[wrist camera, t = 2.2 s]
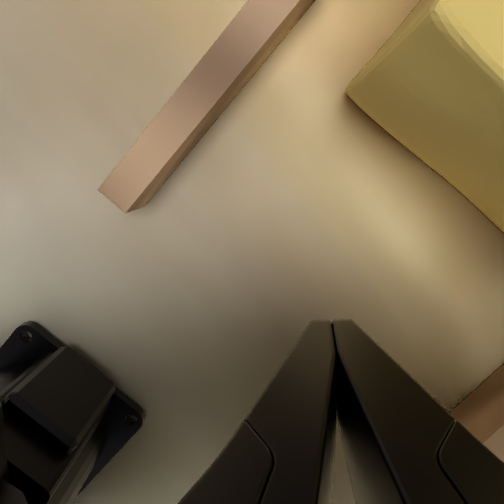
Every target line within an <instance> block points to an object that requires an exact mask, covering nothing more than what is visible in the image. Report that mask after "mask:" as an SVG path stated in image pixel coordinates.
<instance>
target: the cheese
mask: <svg viewBox="0 0 504 504" xmlns="http://www.w3.org/2000/svg"><path fill="white" fill-rule="evenodd" d="M346 93H347V95H348V96H349V97H350V98H351V99H352V100H353V101H354V102H355V103H356V104H357V105H358V106H359V107H360V108H361V109H362V110H363V111H364V112H365V113H367V114H368V115H369V116H370V117H371V118H372V119H373V120H374V121H376V122H377V123H378V124H379V125H380V126H381V127H382V128H384V129H385V130H386V131H387V132H388V133H389V134H391V135H392V136H393V137H394V138H395V139H397V140H398V141H399V142H400V143H401V144H403V145H404V146H405V147H406V148H408V149H409V150H410V151H411V152H412V153H414V154H415V155H416V156H417V157H419V158H420V159H421V160H422V161H424V162H425V163H426V164H427V165H428V166H430V167H431V168H432V169H433V170H435V171H436V172H437V173H438V174H440V175H441V176H442V177H443V178H444V179H446V180H447V181H448V182H449V183H450V184H452V185H453V186H454V187H455V188H456V189H457V190H458V191H460V192H461V193H462V194H463V195H464V196H465V197H466V198H467V199H468V200H469V201H470V202H472V203H473V204H474V205H475V206H476V207H477V208H478V209H479V210H480V211H481V212H483V213H484V214H485V215H486V216H487V217H488V218H489V219H490V220H491V221H492V222H493V223H494V224H495V225H496V226H497V227H498V228H499V229H500V230H501V231H502V232H504V0H421V1H420V2H419V3H418V4H417V5H416V7H415V8H414V9H413V10H412V12H411V13H410V14H409V15H408V16H407V18H406V19H405V20H404V21H403V23H402V24H401V25H400V26H399V27H398V29H397V30H396V31H395V32H394V33H393V35H392V36H391V37H390V38H389V39H388V40H387V42H386V43H385V44H384V45H383V46H382V47H381V49H380V50H379V51H378V52H377V53H376V54H375V56H374V57H373V58H372V59H371V60H370V61H369V62H368V64H367V65H366V66H365V67H364V68H363V69H362V70H361V71H360V73H359V74H358V75H357V76H356V77H355V78H354V79H353V81H352V82H351V83H350V84H349V85H348V86H347V88H346Z"/></svg>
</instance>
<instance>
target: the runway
mask: <svg viewBox="0 0 504 504" xmlns="http://www.w3.org/2000/svg"><path fill="white" fill-rule="evenodd" d="M314 1H315V0H248V1H247V2H246V4H245V5H244V6H243V7H242V9H241V10H240V11H239V12H238V14H237V15H236V16H235V17H234V19H233V20H232V21H231V23H230V24H229V25H228V26H227V28H226V29H225V30H224V31H223V33H222V34H221V35H220V36H219V38H218V39H217V40H216V41H215V43H214V44H213V45H212V46H211V48H210V49H209V50H208V51H207V53H206V54H205V55H204V56H203V58H202V59H201V60H200V61H199V63H198V64H197V65H196V66H195V68H194V69H193V70H192V71H191V73H190V74H189V75H188V77H187V78H186V79H185V80H184V82H183V83H182V84H181V85H180V87H179V88H178V89H177V90H176V92H175V93H174V94H173V95H172V97H171V98H170V99H169V100H168V102H167V103H166V104H165V105H164V107H163V108H162V109H161V110H160V112H159V113H158V114H157V115H156V117H155V118H154V119H153V120H152V122H151V123H150V124H149V125H148V127H147V128H146V129H145V130H144V132H143V133H142V134H141V136H140V137H139V138H138V139H137V141H136V142H135V143H134V144H133V146H132V147H131V148H130V149H129V151H128V152H127V153H126V154H125V156H124V157H123V158H122V159H121V161H120V162H119V163H118V164H117V166H116V167H115V168H114V169H113V171H112V172H111V173H110V174H109V176H108V177H107V178H106V179H105V181H104V182H103V183H102V184H101V186H100V187H99V188H98V189H97V190H99V191H100V192H101V193H102V194H103V195H104V196H106V197H107V198H108V199H109V200H110V201H111V202H113V203H114V204H115V205H116V206H117V207H119V208H120V209H121V210H122V211H123V212H124V213H127V212H130V211H132V210H135V209H138V208H140V207H143V206H145V205H146V204H147V203H148V202H149V200H150V199H151V198H152V197H153V196H154V194H155V193H156V192H157V191H158V190H159V188H160V187H161V186H162V185H163V184H164V182H165V181H166V180H167V179H168V177H169V176H170V175H171V174H172V173H173V171H174V170H175V169H176V168H177V167H178V165H179V164H180V163H181V162H182V161H183V159H184V158H185V157H186V156H187V155H188V153H189V152H190V151H191V150H192V148H193V147H194V146H195V145H196V144H197V142H198V141H199V140H200V139H201V138H202V136H203V135H204V134H205V133H206V132H207V130H208V129H209V128H210V127H211V126H212V124H213V123H214V122H215V121H216V119H217V118H218V117H219V116H220V115H221V113H222V112H223V111H224V110H225V109H226V107H227V106H228V105H229V104H230V103H231V101H232V100H233V99H234V98H235V96H236V95H237V94H238V93H239V92H240V90H241V89H242V88H243V87H244V86H245V84H246V83H247V82H248V81H249V80H250V78H251V77H252V76H253V75H254V74H255V72H256V71H257V70H258V69H259V67H260V66H261V65H262V64H263V63H264V61H265V60H266V59H267V58H268V57H269V55H270V54H271V53H272V52H273V51H274V49H275V48H276V47H277V46H278V45H279V43H280V42H281V41H282V40H283V38H284V37H285V36H286V35H287V34H288V32H289V31H290V30H291V29H292V28H293V26H294V25H295V24H296V23H297V22H298V20H299V19H300V18H301V17H302V16H303V14H304V13H305V12H306V11H307V9H308V8H309V7H310V6H311V5H312V3H313V2H314ZM450 414H451V415H452V416H453V417H454V418H455V420H456V421H459V422H460V423H461V424H462V425H463V426H464V427H465V428H466V429H467V430H468V431H469V432H470V433H471V434H473V435H474V436H475V437H476V438H477V439H478V440H479V441H480V442H481V443H482V444H483V445H485V446H486V447H487V448H488V449H489V450H490V451H491V452H492V453H493V454H495V455H496V456H497V457H498V458H499V459H500V460H501V461H503V462H504V364H503V365H502V366H501V367H500V368H498V369H497V370H496V371H495V372H494V373H493V374H492V375H491V376H490V377H489V378H488V379H486V380H485V381H484V382H483V383H482V384H481V385H480V386H479V387H478V388H477V389H475V390H474V391H473V392H472V393H471V394H470V395H469V396H468V397H467V398H466V399H464V400H463V401H462V402H461V403H460V404H459V405H458V406H457V407H456V408H455V409H453V410H452V411H451V412H450Z"/></svg>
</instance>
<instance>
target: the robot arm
mask: <svg viewBox="0 0 504 504" xmlns="http://www.w3.org/2000/svg"><path fill="white" fill-rule="evenodd" d="M25 331H28V332H30V334H31V335H32V339H29V338H27V336H26V335H25ZM128 415H133V416H135V417H136V419H137V420H136V421H132V420H130V419H129V417H128ZM144 420H145V413H144V410H143V409H142V408H141V407H140V406H139V405H137V404H136V403H135V402H134V401H132V400H131V399H130V398H129V397H127V396H126V395H125V394H124V393H122V392H121V391H120V390H119V389H117V388H116V387H115V386H114V383H113V382H112V381H111V380H109V379H108V378H107V377H106V376H104V375H103V374H102V373H101V372H99V371H98V370H97V369H96V368H94V367H93V366H92V365H91V364H89V363H88V362H87V361H86V360H84V359H83V358H82V357H81V356H79V355H78V354H77V353H76V352H74V351H73V350H72V349H71V348H69V347H65V346H64V345H63V344H61V343H60V342H59V341H58V340H56V339H55V338H54V337H53V336H51V335H50V334H49V333H48V332H46V331H45V330H44V329H43V328H41V327H40V326H39V325H38V324H36V323H34V322H26V323H23V324H22V325H20V326H19V327H18V328H16V329H15V331H14V332H13V333H12V334H11V336H10V337H9V338H8V339H7V341H6V342H5V343H4V344H3V345H2V347H1V348H0V504H72V503H73V501H74V499H75V498H76V496H77V495H78V494H79V493H80V492H81V491H82V490H83V489H84V488H85V487H86V486H87V484H88V483H89V482H90V481H91V480H92V479H93V478H94V477H95V476H96V475H97V474H98V473H99V472H100V470H101V469H102V468H103V467H104V466H105V465H106V464H107V463H108V462H109V461H110V460H111V459H112V458H113V457H114V455H115V454H116V453H117V452H118V451H119V450H120V449H121V448H122V447H123V446H124V445H125V444H126V443H127V441H128V440H129V439H130V438H131V437H132V436H133V435H134V434H135V433H136V432H137V431H138V430H139V429H140V427H141V426H142V424H143V422H144ZM337 420H338V426H339V431H340V436H341V440H342V445H343V449H344V453H345V458H346V462H347V467H348V471H349V476H350V480H351V485H352V489H353V494H354V498H355V503H356V504H504V462H503V461H501V460H500V459H499V458H498V457H497V456H496V455H495V454H493V453H492V452H491V451H490V450H489V449H488V448H487V447H486V446H485V445H483V444H482V443H481V442H480V441H479V440H478V439H477V438H476V437H475V436H474V435H473V434H471V433H470V432H469V431H468V430H467V429H466V428H465V427H464V426H463V425H462V424H461V423H460V422H459V421H456V420H455V418H454V417H453V416H452V415H451V414H450V413H449V412H448V411H447V410H445V409H444V408H443V407H442V406H441V405H440V404H439V403H438V402H437V401H436V400H435V399H434V398H433V397H432V396H431V395H430V394H429V393H428V392H427V391H426V390H425V389H424V388H423V387H422V386H420V385H419V384H418V383H417V382H416V381H415V380H414V379H413V378H412V377H411V376H410V375H409V374H408V373H407V372H406V371H405V370H404V369H403V368H402V367H401V366H400V365H399V364H398V363H397V362H395V361H394V360H393V359H392V358H391V357H390V356H389V355H388V354H387V353H386V352H385V351H384V350H383V349H382V348H381V347H380V346H379V345H378V344H377V343H376V342H375V341H374V340H373V339H371V338H370V337H369V336H368V335H367V334H366V333H365V332H364V331H363V330H362V329H361V328H360V327H359V326H358V325H357V324H356V323H355V322H354V321H352V320H350V319H348V320H334V321H332V324H331V322H330V321H329V320H313V321H311V322H310V323H309V325H308V326H307V328H306V329H305V331H304V332H303V334H302V335H301V337H300V338H299V340H298V341H297V343H296V344H295V346H294V347H293V349H292V350H291V352H290V353H289V354H288V356H287V357H286V359H285V360H284V362H283V363H282V365H281V366H280V368H279V369H278V371H277V372H276V374H275V375H274V377H273V378H272V380H271V381H270V383H269V384H268V386H267V387H266V389H265V390H264V392H263V393H262V395H261V396H260V398H259V399H258V400H257V402H256V403H255V405H254V406H253V408H252V409H251V411H250V412H249V414H248V415H247V417H246V418H245V420H244V422H242V423H241V425H240V426H239V428H238V429H237V431H236V432H235V434H234V435H233V437H232V438H231V439H230V441H229V442H228V443H227V445H226V446H225V448H224V449H223V450H222V452H221V453H220V454H219V456H218V457H217V458H216V460H215V461H214V462H213V463H212V464H211V466H210V467H209V468H208V469H207V470H206V471H205V473H204V474H203V475H202V476H201V477H200V479H199V480H198V481H197V482H196V483H195V484H194V486H193V487H192V488H191V489H190V490H189V491H188V492H187V493H186V495H185V496H184V497H183V498H182V499H181V500H180V501H179V502H178V504H332V494H333V477H334V461H335V445H336V425H337Z"/></svg>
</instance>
